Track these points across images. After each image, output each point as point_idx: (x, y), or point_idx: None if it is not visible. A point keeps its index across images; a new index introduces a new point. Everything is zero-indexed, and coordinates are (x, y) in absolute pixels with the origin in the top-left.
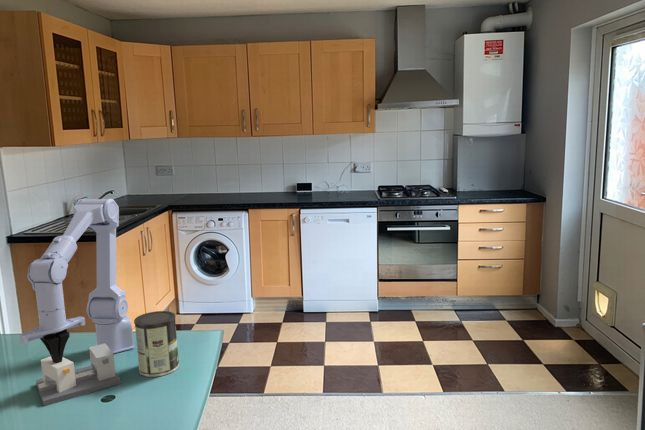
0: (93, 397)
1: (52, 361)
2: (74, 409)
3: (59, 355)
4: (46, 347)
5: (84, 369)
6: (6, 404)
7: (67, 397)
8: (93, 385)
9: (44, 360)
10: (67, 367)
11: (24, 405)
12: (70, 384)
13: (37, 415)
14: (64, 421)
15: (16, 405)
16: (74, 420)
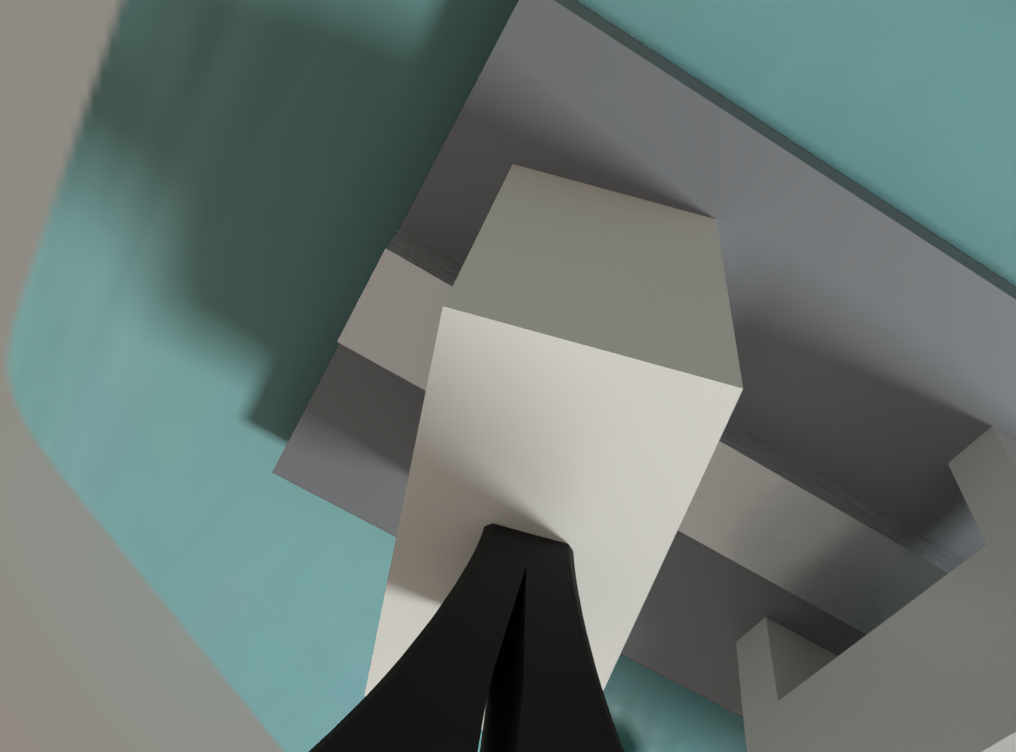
0: None
1: (482, 525)
2: None
3: (484, 730)
4: (367, 697)
5: (965, 364)
6: (102, 89)
7: None
8: (650, 647)
9: (454, 389)
10: None
11: (202, 283)
12: None
13: (192, 497)
14: (258, 680)
15: (157, 210)
16: (297, 717)
